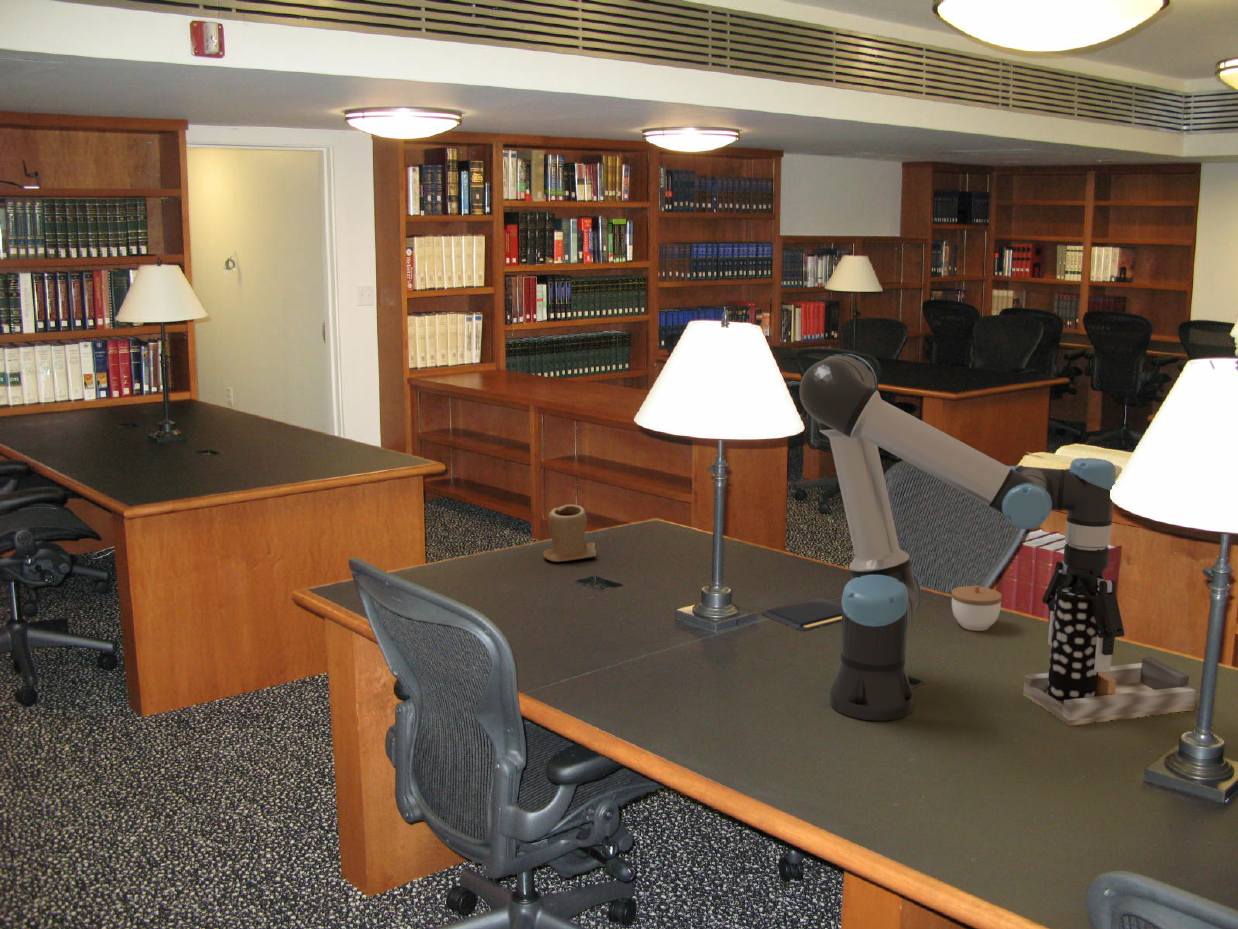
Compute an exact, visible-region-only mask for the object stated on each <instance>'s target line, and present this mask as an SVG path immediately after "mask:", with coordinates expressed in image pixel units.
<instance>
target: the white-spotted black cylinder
mask: <svg viewBox="0 0 1238 929" xmlns="http://www.w3.org/2000/svg"><path fill="white" fill-rule="evenodd" d="M1096 595H1098V594H1097V593H1096ZM1094 596H1095V595H1094ZM1092 600H1097V599H1092ZM1092 600H1090V599H1088V598H1086V597H1084V596H1083V594H1081V593H1079V592H1077V591H1074V590H1073V589H1072V588H1071V587H1070V588H1065V587H1063V586H1060V587H1058V588H1057V589H1056V598H1055V610H1054V621H1053V632H1052V643H1051V645H1050V654H1049V669H1048V673H1049V677H1048V688H1047V694H1048V695H1049V696H1051V697H1053V698H1054V699H1056V700H1057V701H1059V702H1063V703H1064V700H1070V699H1079V698H1087V697H1096V690H1097V680H1098V672H1096V671H1095V670H1094V667H1095V655H1096V643H1097V635H1099V634H1100V631H1099V628H1098V626H1097V623H1096V620H1095V618H1094V615H1093V613H1092V610H1091V609H1092Z"/></svg>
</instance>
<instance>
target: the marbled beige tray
mask: <svg viewBox="0 0 1238 929" xmlns="http://www.w3.org/2000/svg"><path fill="white" fill-rule="evenodd" d="M1100 672H1102V673H1104V674H1106V675H1107V676H1109V677H1111V678H1113V679H1114V680H1116V687H1115V694H1114V695H1105V696H1096V697H1087V698H1079V699H1070V700H1064V703H1063V702H1059V701H1057V700H1056V699H1054V698H1053V697H1051V696H1049V695H1048V694H1047V688H1048V677H1049V672H1045V673H1031V674H1025V675H1024V678H1023V679H1024V680H1023V692H1022V693H1023V696H1024V697H1025V696H1026V697H1025V698H1027V699H1028V698H1029V700H1030V699H1031V700H1032V702H1033V703H1034V702H1036V703H1037V704H1038V705H1037V704H1036V703H1035V704H1036V705H1037V706H1039V705H1040V706H1042V707H1043V708H1045V709H1046V710H1047V711H1046V710H1045V709H1044V710H1045V711H1046V712H1048V711H1049V712H1051V713H1052V714H1053V716H1054V715H1055V716H1056V717H1055V716H1054V717H1055V718H1056V719H1058V718H1059V719H1058V720H1060V719H1061V720H1062V721H1061V720H1060V721H1061V722H1063V723H1064V722H1065V723H1064V724H1066V725H1067V724H1068V725H1067V726H1078V725H1086V724H1095V723H1094V722H1096V723H1103V722H1111V721H1110V720H1113V721H1118V720H1117V719H1122V720H1127V719H1128V720H1129V719H1138V718H1137V717H1139V718H1146V717H1145V716H1147V717H1151V716H1150V715H1156V716H1159V715H1158V714H1162V713H1167V712H1179V711H1187V710H1192V709H1193V710H1194V711H1195V705H1196V704H1195V703H1196V693H1197V690H1196V689H1194V688H1192V687H1190V686H1189V683H1190V682H1189V681H1190V676H1189V675H1188V674H1186V673H1184V672H1182V671H1180V670H1179V669H1177V668H1174V667H1172V666H1170V665H1168V664H1166V663H1164V662H1162V661H1160V660H1158V659H1157V658H1155V657H1153V656H1146V657H1145V656H1144V657H1142V659H1141V662H1138V663H1130V664H1129V663H1128V664H1120V665H1111V668H1110V670H1109V671H1100ZM1031 700H1030V701H1031ZM1040 706H1039V707H1040ZM1042 707H1041V708H1042ZM1043 708H1042V709H1043ZM1049 712H1048V713H1049ZM1051 713H1050V714H1051ZM1052 714H1051V715H1052Z"/></svg>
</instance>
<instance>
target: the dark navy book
mask: <svg viewBox="0 0 1238 929" xmlns="http://www.w3.org/2000/svg"><path fill="white" fill-rule="evenodd" d="M761 615H762V616H763V617H765V618H767V619H770V620H772V621H775V622H778V623H780V624H782V623H783V624H782V625H784V624H785V626H787V627H789V626H792V627H793V628H792V629H794V628H795V629H794V630H796V631H799V630H800V631H799V632H801V631H804V632H807V631H806V630H808V631H811V630H815V629H814V628H816V629H819V628H821V627H820V626H823V627H827V626H830V624H831V625H834V624H833V623H835V624H838V623H842V622H841V621H842V604H839V603H836V602H833V601H831V600H828V599H826V598H823V597H817V598H811V599H809V600H808V599H807V600H803V601H800V602H795V603H791V604H787V605H782V606H778V607H774V608H769V609H768V610H766V611H764V612H761ZM826 625H827V626H826ZM818 627H819V628H818Z"/></svg>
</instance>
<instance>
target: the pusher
mask: <svg viewBox="0 0 1238 929" xmlns="http://www.w3.org/2000/svg"><path fill="white" fill-rule="evenodd" d="M1115 687H1116V680H1114V679H1113V678H1111V677H1109V676H1107V675H1106V674H1104V673H1102V672H1098V680H1097V690H1096V696H1105V695H1114V694H1115Z"/></svg>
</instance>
